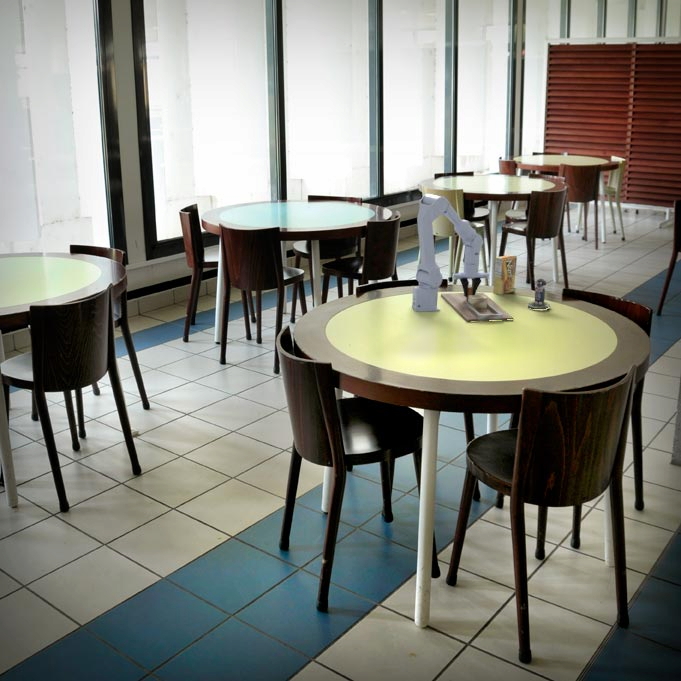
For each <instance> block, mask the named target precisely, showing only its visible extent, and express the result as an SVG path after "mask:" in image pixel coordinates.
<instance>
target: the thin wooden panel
mask: <svg viewBox="0 0 681 681" xmlns="http://www.w3.org/2000/svg"><path fill="white" fill-rule="evenodd" d="M475 295H484V296H485V297H487V308H478V309H474V308H473V307H472V306H471V305H470V304H469V303H468V300H466V297H465V296H464V292H462V293H461V292H459V293H458V292H457V293H453V292H451V293H440V298H442V299H443V300H444V301H445V302H446V303H447V304H448V305H449V306H450V307H451V309H453V310H454V311H455V312H456V313H457V314H458V315H459V317H461V318H462V319H463V320H464V321H465V322H466V323H472V322H471V321H484V322H490V321H489V320H507V319H513V320H514V317H513V315H511V314H509V313H508V312H507V311H506V310H505V309H503V308H502V307H501V306H500V305H499V304H498V303H497V302H495V301H494V300H492V298H490V297H489V296H488V295H487V294H485V293H484V292H476V293H475Z"/></svg>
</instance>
